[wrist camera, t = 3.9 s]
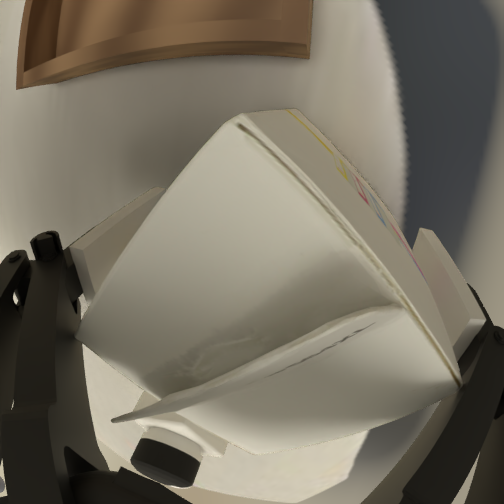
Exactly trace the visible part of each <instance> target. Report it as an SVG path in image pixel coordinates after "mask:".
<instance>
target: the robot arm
mask: <svg viewBox="0 0 504 504" xmlns="http://www.w3.org/2000/svg"><path fill="white" fill-rule="evenodd" d="M165 192H166V188H157V187H154V188H152V189H150V190H149V191H147V192H146V193H144V194H143V195H141V196H140V197H138V198H136V199H135V200H133V201H132V202H130V203H129V204H127V205H126V206H124V207H123V208H122V209H120V210H119V211H117V212H116V213H114V214H113V215H111V216H110V217H109V218H107V219H106V220H104V221H103V222H101V223H100V224H99V225H97V226H96V227H93V228H92V229H91V230H89V231H88V232H87V233H86V234H84V235H83V236H81V238H79V239H77V240H76V241H75V242H73V243H72V244H71V245H70V246H68V247H67V248H66V249H64V250H63V249H62V245H61V241H60V238H59V234H58V232H56V231H46V232H43V233H41V234H39V235H37V236H35V237H34V238H33V239H32V240H31V242H30V243H31V247H32V250H33V253H34V256H35V259H36V260H29V258H28V256H27V252H26V251H25V250H15V251H14V252H11V253H10V254H9V255H7V256H6V257H5V259H4V260H3V261H2V263H1V264H0V465H1V460H2V458H3V467H4V476H5V483H4V481H3V479H2V478H1V477H0V492H3V491H4V488H5V484H6V490H7V496H4V497H0V504H192V503H190V502H188V501H187V500H185V499H184V498H182V497H180V496H179V495H177V494H175V493H174V492H172V491H170V490H169V489H167V488H166V487H164V486H163V485H161V484H160V483H158V482H155V481H153V480H150V479H147V478H145V477H143V476H140V475H138V474H136V473H134V472H132V471H130V470H127V469H125V468H123V467H121V468H120V469H119V471H118V472H115V471H110V470H109V468H108V465H107V463H106V460H105V458H104V456H103V455H102V453H101V452H100V449H99V447H98V444H97V441H96V436H95V432H94V427H93V422H92V417H91V411H90V406H89V399H88V393H87V386H86V378H85V370H84V360H83V348H82V343H81V342H80V341H79V340H77V339H76V338H75V336H74V334H75V332H76V330H77V328H78V326H79V324H80V322H81V305H80V301H79V299H78V297H79V296H80V295H81V294H82V293H83V294H84V296H85V299H86V302H87V304H89V305H90V304H91V302H92V300H93V298H94V297H95V295H96V293H97V292H98V290H99V288H100V287H101V285H102V283H103V282H104V280H105V278H106V277H107V275H108V274H109V272H110V270H111V269H112V267H113V266H114V264H115V263H116V261H117V260H118V258H119V257H120V255H121V254H122V252H123V251H124V249H125V248H126V246H127V245H128V243H129V242H130V240H131V239H132V237H133V236H134V235H135V233H136V232H137V230H138V229H139V227H140V226H141V225H142V223H143V222H144V220H145V219H146V218H147V216H148V215H149V213H150V212H151V211H152V209H153V208H154V207H155V205H156V204H157V202H158V201H159V200H160V198H161V197H162V196H163V194H164V193H165ZM412 252H413V254H414V256H415V258H416V260H417V262H418V265H419V267H420V269H421V271H422V273H423V275H424V277H425V279H426V282H427V284H428V286H429V288H430V291H431V293H432V295H433V298H434V300H435V302H436V305H437V307H438V310H439V312H440V315H441V317H442V320H443V322H444V325H445V328H446V330H447V333H448V336H449V339H450V342H451V345H452V348H453V351H454V354H455V357H456V361H457V363H458V366H459V369H460V375H461V378H462V382H463V386H462V387H461V388H460V389H459V390H458V391H457V392H456V393H454V394H452V395H450V396H448V397H446V398H444V399H442V400H441V402H440V404H439V405H438V407H437V408H436V410H435V412H434V413H433V415H432V416H431V418H430V419H429V421H428V422H427V424H426V426H425V427H424V428H423V430H422V431H421V433H420V434H419V436H418V437H417V438H416V440H415V441H414V442H413V444H412V445H411V447H410V448H409V449H408V450H407V452H406V453H405V454H404V456H403V457H402V458H401V460H400V461H399V462H398V463H397V464H396V466H395V467H394V468H393V469H392V470H391V471H390V473H389V474H388V475H387V476H386V477H385V478H384V480H383V481H382V482H381V483H380V484H379V485H378V486H377V487H376V488H375V489H374V490H373V492H371V494H370V495H369V496H368V497H367V498H366V499H365V500H364V501H363V502H362V503H361V504H451V503H452V502H453V500H454V498H455V497H456V495H457V493H458V492H459V490H460V488H461V487H462V485H463V483H464V481H465V480H466V478H467V476H468V474H469V472H470V470H471V468H472V466H473V465H474V463H475V461H476V458H477V456H478V454H479V452H480V454H479V458H478V462H477V466H476V470H475V473H474V476H473V480H472V483H471V486H470V489H469V493H468V495H467V498H466V501H465V503H464V504H504V329H503V328H501V327H499V326H494V325H493V323H492V321H491V319H490V317H489V315H488V313H487V311H486V309H485V308H484V307H483V304H482V302H481V301H480V298H479V297H478V295H477V293H476V291H475V290H474V289H473V288H472V287H471V286H470V285H469V284H468V283H466V281H465V280H464V278H463V276H462V275H461V273H460V271H459V270H458V268H457V267H456V265H455V263H454V262H453V260H452V259H451V257H450V256H449V254H448V252H446V249H445V248H444V247H443V245H442V244H441V242H440V241H439V239H438V238H437V236H436V235H435V233H434V232H433V231H432V230H428V229H424V228H420V229H419V232H418V235H417V238H416V241H415V244H414V247H413V250H412ZM14 292H15V295H16V297H17V299H18V303H17V304H15V303H14V301H13V294H14ZM13 399H14V405H13V408H12V404H13ZM11 408H12V410H11Z"/></svg>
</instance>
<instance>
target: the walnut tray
mask: <svg viewBox="0 0 504 504" xmlns="http://www.w3.org/2000/svg"><path fill="white" fill-rule="evenodd" d="M312 10H313V0H26V2H25V6H24V12H23V17H22V23H21V30H20V38H19V47H18V59H17V78H16V90H18V89H23V88H28V87H34V86H40V85H46V84H53V83H58V82H61V81H65V80H68V79H71V78H74V77H78V76H82V75H85V74H89V73H93V72H97V71H101V70H105V69H110V68H114V67H119V66H124V65H129V64H135V63H141V62H147V61H154V60H161V59H170V58H179V57H191V56H206V55H269V56H285V57H296V58H306V59H309V57H310V43H311V28H312Z"/></svg>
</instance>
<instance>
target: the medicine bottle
mask: <svg viewBox="0 0 504 504" xmlns="http://www.w3.org/2000/svg"><path fill="white" fill-rule="evenodd" d="M156 402H158V400H157V399H156V398H154V397H153V396H151V395H150V394H149V393H147V392H146V391H144V392H143V393H142V395H141V397H140V399H139V401H138V402H137V404H136V406H135V408H134V410H133V412H134V411H136V410H140V409H143V408H145V407H148V406H150V405H153V404H154V403H156ZM134 421H135V422H136V423H137V424H139V425H140V426H141V427H142V428H144V429H145V430H146V431H147V432H144V433H143V435H142V437H141V439H140V441H139V443H138V445H137V447H136V449H135V451H134V453H133V455H132V457H131V459H130V460H131V464H132V465H133V466H134V467H135V468H136V470H137V471H139V472H140V473H142V474H143V475H145V476H147V477H149V478H151V479H153V480H155V481H157V482H160V483H163V484H165V485H168V486H171V487H175V488H189V487H191V486H192V485H193V483H194V480H195V477H196V475H197V472H198V469H199V467H200V464H201V461H202V458H203V457H202V455H208V456H215V457H222V456H223V455H224V453H225V450H226V447H227V444H228V442H227V441H225V440H223V439H221V438H219V437H217V436H215V435H214V434H211V433H210V432H208V431H206V430H204V429H202V428H201V427H199V426H197V425H196V424H194V423H192V422H190V421H189V420H187V419H186V418H184V417H183V416H181V415H179V414H177V413H175V412H170V413H165V414H160V415H155V416H151V417H146V418H141V419H136V420H134Z"/></svg>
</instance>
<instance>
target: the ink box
mask: <svg viewBox="0 0 504 504" xmlns="http://www.w3.org/2000/svg"><path fill="white" fill-rule="evenodd" d="M74 336H75V338H76V339H77V340H79V341H80V342H81V343H83V344H84V345H86V346H87V347H88V348H89V349H90V350H92V351H93V352H94V353H95V354H97V355H98V356H99V357H100V358H101V359H103V360H104V361H105V362H106V363H108V364H109V365H110V366H112V367H113V368H114V369H116V370H117V371H118V372H120V373H121V374H122V375H124V376H125V377H126V378H128V379H129V380H130V381H132V382H133V383H134V384H136V385H137V386H138V387H140V388H141V389H143V390H144V391H146V392H147V393H149V394H150V395H151V396H153V397H154V398H156V399H157V400H158V402H156V403H154V404H153V405H150V406H148V407H145V408H143V409H140V410H136V411H134V412H131V413H127V414H124V415H121V416H119V417H116V418H113V419H111V422H112V423H118V422H124V421H130V420H136V419H141V418H146V417H151V416H155V415H160V414H165V413H170V412H175V413H177V414H179V415H181V416H183V417H184V418H186V419H187V420H189V421H190V422H192V423H194V424H196V425H197V426H199V427H201V428H202V429H204V430H206V431H208V432H210V433H211V434H214V435H215V436H217V437H219V438H221V439H223V440H225V441H227V442H228V443H230V444H233V445H235V446H236V447H239V448H241V449H243V450H245V451H246V452H248V453H250V454H253V455H261V454H268V453H274V452H280V451H286V450H292V449H297V448H302V447H306V446H310V445H315V444H319V443H324V442H328V441H331V440H335V439H339V438H342V437H346V436H349V435H353V434H356V433H359V432H362V431H365V430H368V429H371V428H374V427H377V426H380V425H383V424H386V423H388V422H391V421H394V420H396V419H399V418H401V417H404V416H406V415H409V414H411V413H413V412H416V411H418V410H420V409H422V408H425V407H427V406H429V405H431V404H434V403H436V402H438V401H440V400H442V399H444V398H446V397H448V396H450V395H452V394H454V393H456V392H457V391H458V390H459V389H460V388H461V387H462V386H463V382H462V378H461V375H460V371H459V367H458V364H457V361H456V357H455V354H454V351H453V348H452V345H451V342H450V339H449V336H448V333H447V330H446V328H445V325H444V322H443V320H442V317H441V315H440V312H439V310H438V307H437V305H436V302H435V300H434V298H433V295H432V293H431V291H430V288H429V286H428V284H427V282H426V279H425V277H424V275H423V273H422V271H421V269H420V267H419V265H418V262H417V260H416V258H415V256H414V254H413V252H412V250H411V248H410V247H409V245H408V243H407V241H406V239H405V237H404V235H403V233H402V232H401V230H400V228H399V226H398V225H397V223H396V221H395V219H394V217H393V216H392V214H391V213H390V212H389V210H388V209H387V208H386V206H385V205H384V204H383V202H382V201H381V200H380V198H379V197H378V196H377V195H376V193H375V192H374V191H373V190H372V188H371V187H370V186H369V184H368V183H367V182H366V181H365V180H364V179H363V178H362V177H361V176H360V174H359V173H358V172H357V171H356V170H355V169H354V167H353V166H352V165H351V164H350V163H349V162H348V160H347V159H346V158H345V157H344V156H343V155H342V154H341V153H340V152H339V151H338V150H337V149H336V148H335V146H334V145H333V144H332V143H331V142H330V141H329V140H328V139H327V138H326V137H325V136H324V135H323V134H322V133H321V132H320V131H319V130H318V129H317V128H316V127H315V126H314V125H313V124H312V123H311V122H310V121H309V120H308V119H307V118H306V117H305V116H304V115H303V114H302V113H301V112H300V111H298V110H297V109H295V108H292V109H283V110H271V111H257V112H253V113H240V114H238V115H237V116H235V117H233V118H232V119H230V120H228V121H227V122H225V123H223V125H222V126H221V127H220V128H219V129H218V130H217V131H216V132H215V133H214V134H213V135H212V137H211V138H210V139H209V140H208V141H207V142H206V143H205V144H204V146H203V147H202V148H201V149H200V150H199V151H198V153H197V154H196V155H195V156H194V157H193V158H192V160H191V161H190V162H189V163H188V164H187V166H186V167H185V168H184V169H183V170H182V172H181V173H180V174H179V175H178V176H177V178H176V179H175V180H174V181H173V183H172V184H171V185H170V187H169V188H168V189H167V190H166V192H165V193H164V194H163V196H162V197H161V198H160V200H159V201H158V202H157V204H156V205H155V207H154V208H153V209H152V211H151V212H150V213H149V215H148V216H147V218H146V219H145V220H144V222H143V223H142V225H141V226H140V227H139V229H138V230H137V232H136V233H135V235H134V236H133V237H132V239H131V240H130V242H129V243H128V245H127V246H126V248H125V249H124V251H123V252H122V254H121V255H120V257H119V258H118V260H117V261H116V263H115V264H114V266H113V267H112V269H111V270H110V272H109V274H108V275H107V277H106V278H105V280H104V282H103V283H102V285H101V287H100V288H99V290H98V292H97V293H96V295H95V297H94V298H93V300H92V302H91V304H90V305H89V307H88V309H87V311H86V312H85V314H84V316H83V318H82V320H81V322H80V324H79V326H78V328H77V330H76V332H75V334H74Z"/></svg>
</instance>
